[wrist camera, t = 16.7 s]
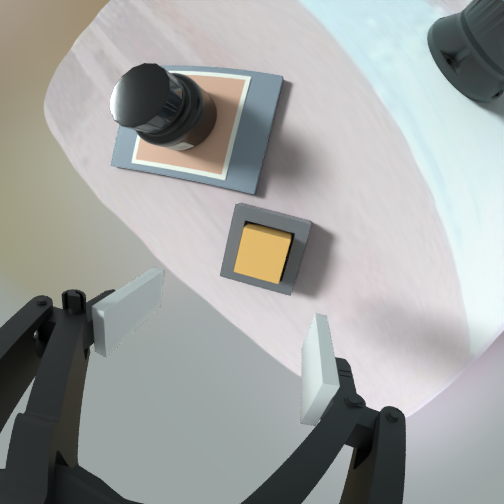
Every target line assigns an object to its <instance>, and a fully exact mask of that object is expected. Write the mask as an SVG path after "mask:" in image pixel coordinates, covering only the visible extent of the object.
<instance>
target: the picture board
mask: <svg viewBox="0 0 504 504" xmlns="http://www.w3.org/2000/svg"><path fill="white" fill-rule="evenodd" d="M160 67H162V68H165V69H166V70H167V71H168V72H170V73H180V74H183V75H186V76H188V77H190V78H191V79H193V80H194V81H195V82H196V83H197V84H198V85H199V86H200V87H201V88H202V89H203V90H204V91H206V92H207V93H208V94H209V95H210V97H211V98H212V99H213V101H214V103H215V105H216V109H217V120H216V123H215V126H214V128H213V130H212V132H211V133H210V135H209V136H208V137H207V138H206V139H205V140H204V141H203V142H202V143H201V144H199V145H198V146H196V147H194V148H192V149H189V150H184V151H178V150H172V149H168V148H164V147H160V146H156V145H152V144H150V143H148V142H146V141H144V140H143V139H141V138H140V137H139V136H138V134H137V133H136V131H135V130H133V129H130V128H126V127H122V126H121V125H120V124H119V129H118V133H117V137H116V142H115V146H114V151H113V156H112V161H111V166H114V167H121V168H127V169H133V170H139V171H144V172H150V173H156V174H161V175H166V176H172V177H177V178H182V179H187V180H192V181H196V182H201V183H206V184H211V185H215V186H220V187H224V188H228V189H233V190H237V191H241V192H246V193H250V194H255V193H256V189H257V185H258V181H259V176H260V172H261V168H262V164H263V160H264V156H265V152H266V148H267V144H268V139H269V135H270V131H271V127H272V123H273V119H274V115H275V111H276V107H277V103H278V99H279V95H280V91H281V87H282V83H283V76H279V75H273V74H268V73H261V72H254V71H247V70H239V69H229V68H218V67H203V66H160Z"/></svg>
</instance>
